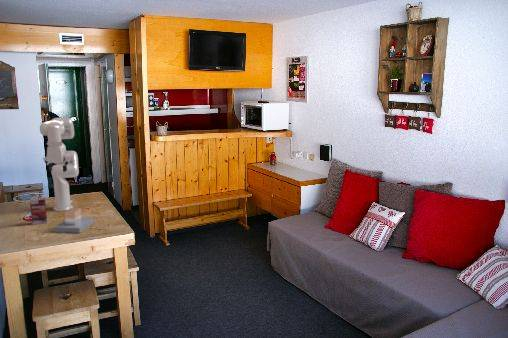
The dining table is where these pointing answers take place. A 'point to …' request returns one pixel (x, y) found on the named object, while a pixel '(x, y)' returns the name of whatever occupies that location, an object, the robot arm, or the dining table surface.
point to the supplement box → (38, 210)
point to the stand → (73, 226)
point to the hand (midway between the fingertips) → (57, 171)
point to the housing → (73, 216)
